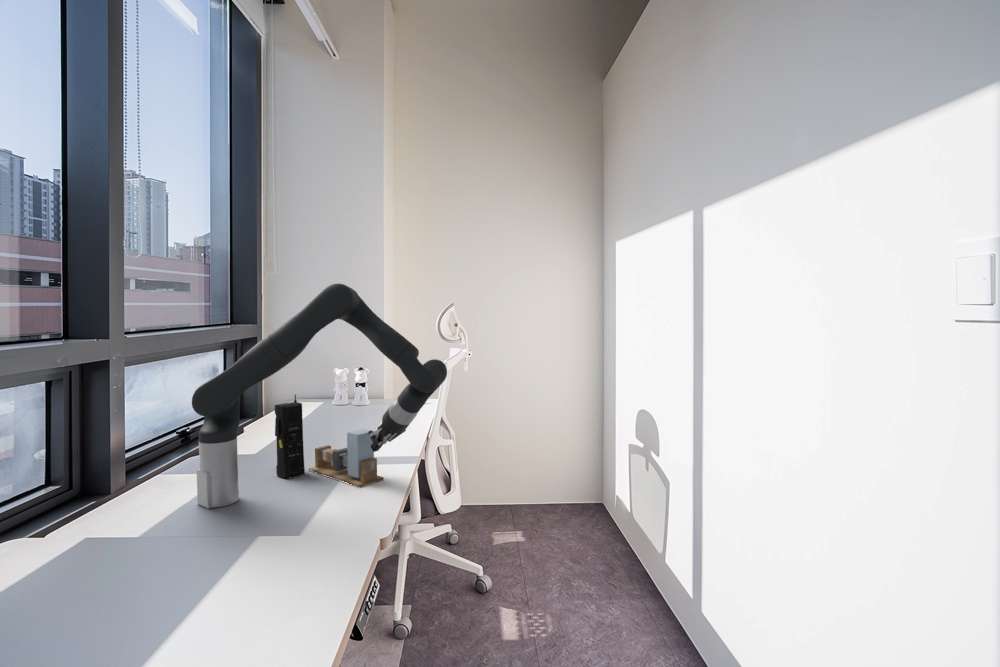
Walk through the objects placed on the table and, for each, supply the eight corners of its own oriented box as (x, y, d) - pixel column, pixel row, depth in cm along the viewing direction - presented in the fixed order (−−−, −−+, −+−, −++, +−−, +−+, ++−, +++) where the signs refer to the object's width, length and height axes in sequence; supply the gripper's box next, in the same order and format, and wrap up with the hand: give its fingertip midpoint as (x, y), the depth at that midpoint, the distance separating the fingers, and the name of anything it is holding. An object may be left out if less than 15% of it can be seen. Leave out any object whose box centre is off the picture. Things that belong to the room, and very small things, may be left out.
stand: (383, 479, 166) (383, 457, 166) (359, 487, 159) (358, 464, 158) (332, 464, 182) (332, 443, 182) (308, 470, 175) (308, 449, 175)
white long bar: (374, 471, 164) (374, 460, 164) (365, 473, 161) (365, 462, 161) (326, 456, 179) (326, 446, 179) (317, 459, 177) (317, 448, 176)
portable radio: (283, 480, 165) (281, 399, 164) (272, 476, 169) (270, 397, 167) (306, 474, 171) (304, 395, 170) (295, 470, 175) (293, 393, 174)
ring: (353, 466, 173) (352, 448, 172) (336, 471, 168) (336, 452, 168) (349, 465, 174) (348, 447, 174) (333, 470, 169) (332, 451, 169)
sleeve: (374, 473, 166) (373, 431, 165) (358, 478, 161) (357, 434, 161) (363, 469, 169) (363, 428, 169) (347, 474, 165) (347, 432, 164)
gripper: (412, 399, 159) (385, 434, 168) (376, 406, 149) (349, 443, 157) (425, 420, 156) (397, 454, 165) (389, 428, 146) (361, 464, 154)
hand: (373, 448), depth 161 cm, fingers closed
